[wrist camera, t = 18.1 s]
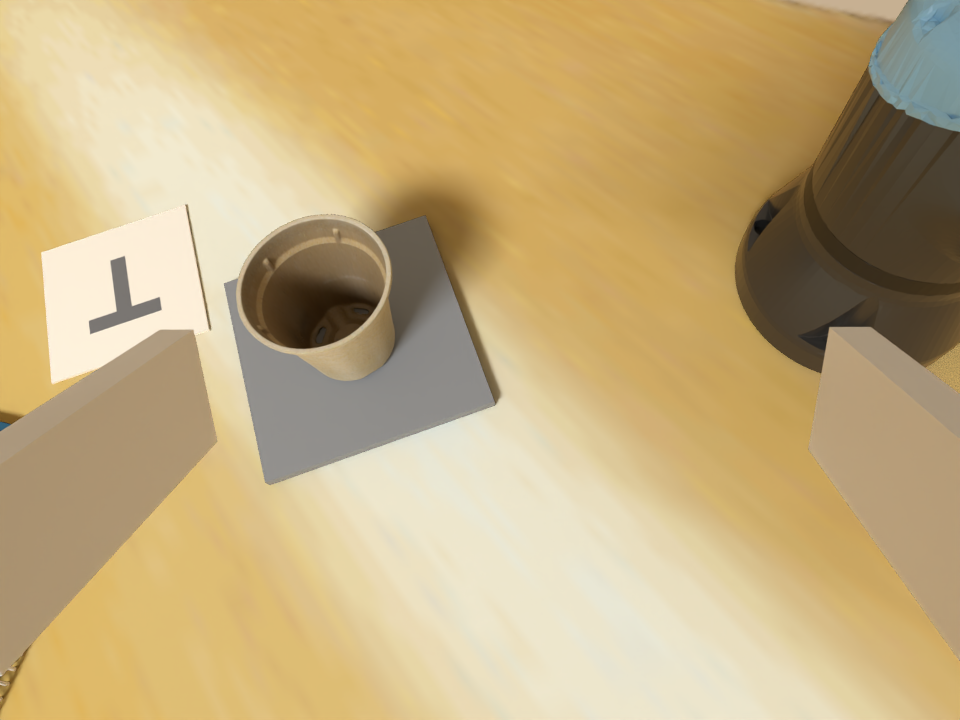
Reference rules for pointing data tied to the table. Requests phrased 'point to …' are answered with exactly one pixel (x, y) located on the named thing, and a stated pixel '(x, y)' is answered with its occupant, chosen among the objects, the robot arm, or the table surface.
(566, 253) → the table surface
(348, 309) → the flower pot
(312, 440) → the rubber mat
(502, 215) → the table surface
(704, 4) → the table surface
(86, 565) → the robot arm
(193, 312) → the letter tile
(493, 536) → the table surface
